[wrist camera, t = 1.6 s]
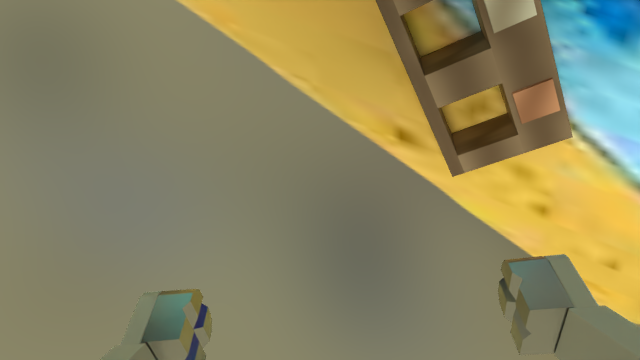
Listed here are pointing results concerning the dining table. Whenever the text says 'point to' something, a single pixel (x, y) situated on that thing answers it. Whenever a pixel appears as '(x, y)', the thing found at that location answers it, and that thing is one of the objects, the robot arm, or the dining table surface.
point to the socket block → (487, 81)
